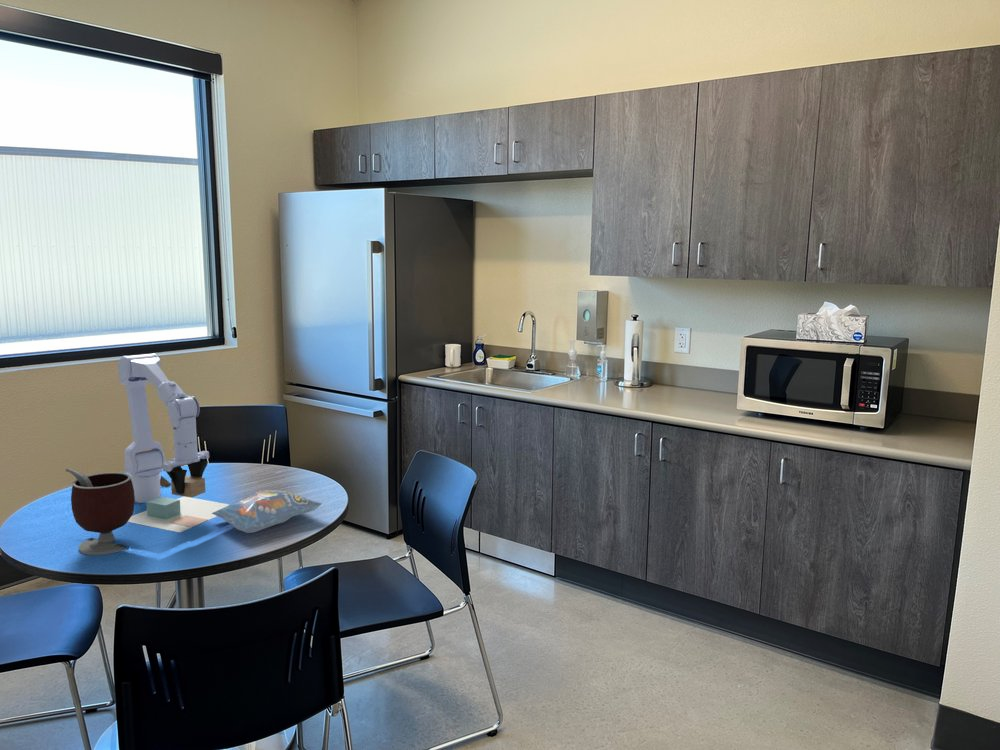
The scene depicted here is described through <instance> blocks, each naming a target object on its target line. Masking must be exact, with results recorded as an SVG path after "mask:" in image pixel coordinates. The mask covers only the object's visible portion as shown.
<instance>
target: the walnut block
mask: <svg viewBox="0 0 1000 750" xmlns="http://www.w3.org/2000/svg"><path fill="white" fill-rule="evenodd" d="M170 483H171V485H170V487H171V489H170V490H171V495H174V496H180V497H183V496H185V497H191V498H196V496H200V495H202V494H205V493H206V478H204V477H202V478H200V477H194V476H191V475H188V474H187V475H186V476H185V491H184V493H183V494H179V493H177V492H176V489H175V486H174V484H173V482H172V480H171V479H170Z"/></svg>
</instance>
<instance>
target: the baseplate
mask: <svg viewBox="0 0 1000 750" xmlns="http://www.w3.org/2000/svg"><path fill="white" fill-rule="evenodd" d="M177 499H178V500H180V512H181V514H179V515H176V516H174V517H171V518H169V519H161V518H156V517H151V516H147V509H146V510H144V511H142V512H139V513H137V514H134V515H133V514H132V516H131V518H130V519H129V521H128V522H127V523H133V524H137V525H142V526H146V527H151V528H156V529H161V530H167V531H170V532H176V533H182V532H184V531H186V530H189V529H192V528H194V527H196V526H198V525H200V524H202V523H205V522H207V521H209V520H212V519H213V518H214V519H215V518H216V517H218V516H216V515H214V514H211V513H213V512H215V511H218V510H220V509H222V508H224V507H226V506H228V505H230V504H229V503H225V502H224V503H222V502H219V501H218V502H217V501H212V500H207V499H202V498H201V499H200V498H196V497H192V498H191V497H185V496H180V497H178V498H177Z"/></svg>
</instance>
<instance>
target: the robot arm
mask: <svg viewBox="0 0 1000 750" xmlns="http://www.w3.org/2000/svg"><path fill="white" fill-rule="evenodd" d="M161 361H162V360H161V359H160V357H159V356H158V355H157V354H156V353H149V354H137V355H122V356H121V357H120V358H119V360H118V362H117V372H118V379H119V384H120V385H122V386H125V390H126V392H125V393H126V398H127V405H128V411H129V412H128V413H129V417H130V418H129V419H130V425H131V426H130V427H131V434H132V440H133V441H132V443H130V444H129V445H128V446H127V447H126V448H125V450H124V460H123V461H124V462H123V465H124V469H125V471H126V473H127V474H129V475H130V476H131V481H132V484H133V488H134V496H135V503H138V504H139V503H140V504H141V503H142V504H143V503H145V504H146V502H147V501H150V500H153V499H155V498H158V497H162V493H161V486H160V479H161V476H160V475H161V474H160V473H162V472H166V474H167V476H169V478H170V481H171V480H172V482H173V484H174V486H175V489H176V492H177V493H179V494H183V493H184V491H185V476H186V474H187V471H188V470H189V474H190V475H189V476H194V477H200V478H203V475H204V472H205V469H206V468H207V466H208V461H206V460H208V459H210V452H209V451H208V450H206V451H205V450H202V451H198V435H197V420H196V418H197V417H199V415H200V411H201V409H200V403H199V401H198V399H197V397H195V396H194V395H192V396H191V395H188V394H186V393H185V392H184V391H183V389H182V388H181V387H180V386H179V385H178V384H177V383H176V382H175V381H173V380H169V379H168V377H167V376H166V374H165V373H164V371H163V370H162V362H161ZM149 382H150V384H152V385H153V386H154V387H155V388H156V389H157V390H156V394H157V397H158V398H159V399H160V400H161V401H162V403H164V405H165V406H166V407H167V415H168V418H169V420H170V421H169V422H170V425H171V427H172V431H173V433H172V434H173V446H174V447H173V449H174V458H172V459H170V460H168V461H167V459H166V455H165V453H164V450H163V446H162V445H163V444H161V443H160V442H158V441H156V440H154V439H153V434H152V427H151V422H150V414H149V406H148V399H147V393H146V386H147V384H148V383H149ZM184 466H187V467H188V469H183V467H184Z"/></svg>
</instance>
